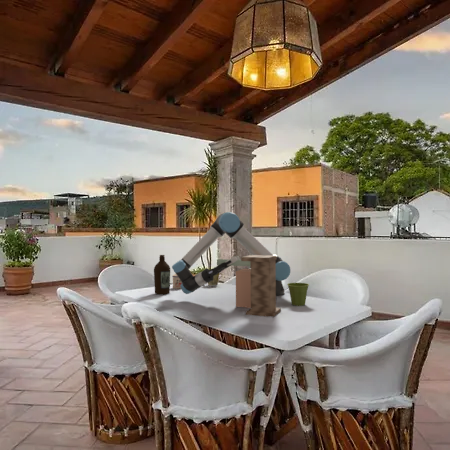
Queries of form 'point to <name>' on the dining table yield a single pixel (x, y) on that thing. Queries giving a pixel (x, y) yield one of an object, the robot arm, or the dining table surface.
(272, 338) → the dining table surface
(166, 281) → the olive oil
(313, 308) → the dining table surface
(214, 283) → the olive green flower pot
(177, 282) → the teacup with lid
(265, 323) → the dining table surface
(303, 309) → the dining table surface
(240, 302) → the reddish brown block
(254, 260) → the tall stand
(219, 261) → the handle rail
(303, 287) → the plant pot
